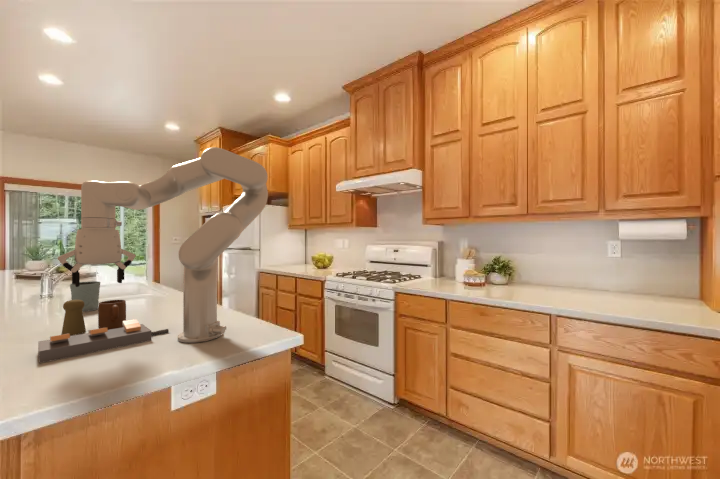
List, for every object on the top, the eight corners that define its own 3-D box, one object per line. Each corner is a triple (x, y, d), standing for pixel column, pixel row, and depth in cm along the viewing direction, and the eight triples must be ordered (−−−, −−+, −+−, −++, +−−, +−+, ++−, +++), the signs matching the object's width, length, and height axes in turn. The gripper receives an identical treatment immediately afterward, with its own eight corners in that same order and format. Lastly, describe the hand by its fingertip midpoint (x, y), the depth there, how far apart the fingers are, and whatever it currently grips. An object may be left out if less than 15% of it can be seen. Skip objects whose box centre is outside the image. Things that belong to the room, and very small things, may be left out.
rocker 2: (136, 324, 99) (136, 318, 99) (140, 331, 95) (141, 326, 95) (122, 326, 97) (122, 321, 97) (126, 334, 93) (126, 328, 93)
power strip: (163, 329, 107) (163, 320, 107) (173, 335, 100) (173, 326, 100) (38, 352, 85) (38, 341, 85) (39, 363, 78) (39, 351, 78)
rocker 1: (68, 340, 88) (67, 333, 88) (69, 340, 84) (69, 333, 84) (50, 343, 85) (50, 336, 85) (51, 343, 81) (51, 336, 81)
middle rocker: (104, 333, 93) (104, 327, 94) (107, 333, 89) (107, 327, 90) (88, 336, 91) (88, 330, 91) (91, 336, 87) (91, 330, 87)
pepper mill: (71, 330, 105) (71, 298, 105) (90, 330, 106) (90, 298, 106) (55, 336, 99) (55, 302, 99) (76, 335, 100) (76, 301, 100)
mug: (130, 331, 105) (130, 303, 105) (101, 336, 100) (101, 306, 100) (123, 324, 113) (123, 298, 113) (96, 328, 108) (96, 301, 108)
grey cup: (96, 306, 144) (96, 280, 143) (103, 309, 138) (103, 282, 138) (67, 310, 135) (67, 283, 135) (73, 313, 129) (73, 285, 129)
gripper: (132, 226, 98) (133, 280, 98) (56, 224, 85) (56, 286, 85) (138, 225, 93) (138, 282, 93) (57, 223, 80) (57, 289, 80)
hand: (99, 284), depth 89 cm, fingers open, 9 cm apart
